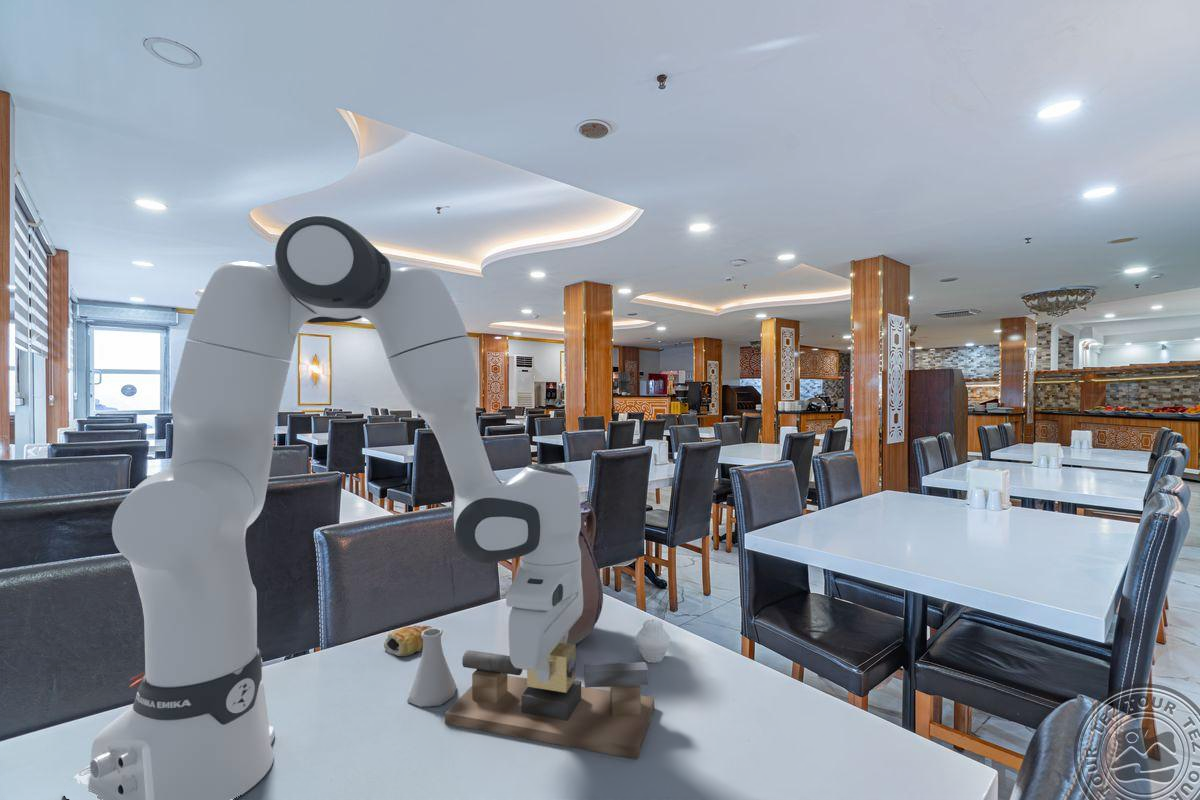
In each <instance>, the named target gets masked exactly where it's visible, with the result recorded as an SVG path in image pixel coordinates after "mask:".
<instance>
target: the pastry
mask: <svg viewBox="0 0 1200 800" xmlns="http://www.w3.org/2000/svg"><path fill="white" fill-rule="evenodd" d="M428 628H433V627H432V626H430V625H422V626H420V625H414V626H403V627H401V628H400V629H395V630H393V631H392V633H389V634H388V635H387V637H386V639H385V640H384V643H383V647H384V650H385V651H386V652H387V653H388V654H391V655H394V656H395V655H396V656H399V657H409V656H412V655H413V654H415V653H416V652H422V651H423V638H421V634H422V632H423V631H424V630H426V629H428Z"/></svg>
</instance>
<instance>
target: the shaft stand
mask: <svg viewBox="0 0 1200 800" xmlns="http://www.w3.org/2000/svg"><path fill="white" fill-rule="evenodd" d="M646 662H647V661H640V662H637V661H636V662H617V663H615V662H613V663H588V664H586V663H585V664H584V665H583V669H584V671H583V679H584V680H583V681H584V682H583V683H584V686H582V681H581V680H577V679H575V680H574V682H573V683H572V685H571V687H570V688H569V690H568V691H567V693H565V692H559V691H552V690H546V689H540V688H533V687H527V677H522V676H521V675H522V673H523V670H524V669H518V668H515V667H514V666H513V664H512V663H511V660H510V655H505V654H499V653H490V652H483V651H477V650H472V649H471V650H470V649H468V650H465V652H464V654H463V656H462V662H461V663H462V667H463V668H467V669H474V671H473V673H472V675H471V679H472V680H471V681H472V682H471V683H472V684H471V686H470V687H469V688H468V689H467V690H466V691H465V692H464V693H463V695H461V696H460V697H459V698H458V699H457V700H456V702H454V703H453V704H452V705H451V706H450V708H448V709H447V710H446V711H445V712H444V724H445V725H451V726H455V727H462V728H467V729H472V730H478V731H483V732H489V733H493V734H500V735H505V736H510V737H511V736H512V737H517V738H522V739H526V740H531V741H536V742H537V741H538V742H542V743H548V744H553V745H559V746H565V747H569V748H575V749H580V750H586V751H592V752H597V753H602V754H607V755H612V756H618V757H625V758H629V759H635V760H637V759H638V758H639V754H640V751H641V749H642V746H643V743H644V741H645V737H646V734H647V731H648V729H649V725H650V722H651V719H652V716H653V713H654V710H655V697H651V696H647V695H646V696H645V695H642V692H641V689H642V688H641V686H648V685H649V669H648V665H647V663H646ZM513 675H514V676H513ZM604 687H606V688H607V687H608V688H610V689H609V690H607V689H598V688H604Z"/></svg>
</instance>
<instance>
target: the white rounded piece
mask: <svg viewBox="0 0 1200 800" xmlns="http://www.w3.org/2000/svg"><path fill="white" fill-rule="evenodd" d="M642 624H643V625H642V628H641V629H640V630H638V632H637V633H636V636H635V642H636V644H637V648H638V650H639V652H640V653H641V655H642V657H643V659H644V660H645V661H646V660H647V661H649V662H648V663H651V662H657V663H659V661H660V662H662V661H663V660H664V658H665V655H666V653H667V652H668V650H669V647H670V644H671V636H670V634H669V633H668V632H667V631H666V630H665V628H664V626H663V623H662V622H661V621H660V620H659V619H656V618H652V619H651V618H650V619H647V620H645V621H644V623H642ZM647 661H646V662H647Z"/></svg>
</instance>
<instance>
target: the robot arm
mask: <svg viewBox="0 0 1200 800" xmlns="http://www.w3.org/2000/svg"><path fill="white" fill-rule="evenodd" d="M274 262H275V264H271V265H269V264H266V265H265V264H261V263H258V262H250V261H235V262H229V263H226V264H223V265H221V266H220V267H218V268H217V269H215V271H214V272H213V273H212V274H211V277H210V279H209V280H208V283H207V284H206V286H205V289H204V290H203V293H202V294H201V297H200V299H199V301H198V303H197V306H196V309H195V311H194V314H193V316H192V319H191V322H190V325H189V329H188V332H187V336H186V340H185V342H184V347H183V351H182V354H181V357H180V363H179V366H178V371H177V374H176V378H175V381H174V385H173V391H172V394H171V396H170V397H171V399H170V403H169V405H170V406H169V407H170V411H171V412H170V413H171V414H172V420H173V421H172V424H173V426H172V427H173V430H172V431H173V435H172V454H171V458H170V459H171V460H170V464H169V467H168V468H167V469H165V470H161V471H159V472H156V473H154V474H152V475H150V476H149V477H147V478H145V479H144V480H142V481H141V482H140V483H139V484H138V485H136V486H135V488H133V489H132V491H130V492H129V493H128V494H127V496H126V497H125V498H124V499H123V500H122V502H121V503H120V504H119V506H118V508H117V509H116V511H115V513H114V516H113V519H112V525H111V535H112V539H113V542H114V544H115V546H116V548H117V550H118V551H119V552H120V554H121V555H122V556H123V557H124V558H125V559H127V561H128V562H130V566H131V570H132V573H133V576H134V580H135V583H136V586H137V591H138V594H139V598H140V601H141V606H142V614H143V621H144V622H143V625H144V664H145V665H144V667H145V669H144V672H142V673H140V674H138V675H135V676H133V677H130V678H129V681H134V680H135V682H133V683H132V684H129V688H131V689H132V688H135V687H136V686H137V687H138V688H137V691H136V695H135V698H134V702H133V704H132V705H131V706H130V707H128V708H127V709H126V710H125V711H124V712H122V713H121V714H120V715H119V716H118V717H116V718H115V719H114V720H112V721H111V722H110V723H109V724H107V725H106V726H104V727H103V729H102V730H101V731H100V732H98V734H97V735H96V736H95V738H94V741H93V743H92V746H91V751H90V752H91V754H90V762H89V763H90V764H88V766H86V767H84V768H83V769H82V770H80V771H79V772H78V773H76V775H74V776H73V777H74V778H76V779H77V781H78V782H77V783H79V784H80V781H81V783H83V784H86V785H87V787H88V789H89V790H88V791H89V792H92V793H94V794H96V795H98V796H97V798H98V799H100V800H102V799H103V800H230V799H233V798H235V797H237V798H239V797H240V795H241V796H242V795H243V794H245V793H247V792H248V791H250V790H251V789H252V788H254V786H256V785H257V784H258V783H259V782H260V781H261V780H263V778H264V777H265V776H266V774H267V773H268V771H269V770H271V767H272V764H273V763H274V751H273V748H272V743H273V741H274V739H275V736H276V733H275V728H274V726H272V725H269V724H270V723H269V717H268V707H267V700H266V694H265V692H266V691H265V686H264V683H263V682H262V678H263V675H262V674H263V672H262V671H263V668H262V667H263V658H262V652H261V649H260V648H259V647H258V613H257V612H258V609H257V608H258V600H257V589H256V587H255V585H254V584H253V580H252V576H251V571H250V567H249V562H248V561H249V560H248V557H247V556H248V555H247V548H246V533H247V530H248V528H249V527H250V526H251V525H252V524H254V522H255V521H256V520H257V518H258V517H259V516H260V515H261V512H262V510H263V508H264V505H265V502H266V495H267V490H268V484H269V478H270V473H271V468H272V467H271V466H272V459H273V452H274V451H273V450H274V443H275V432H276V425H277V424H276V423H277V421H278V416H279V411H280V407H281V403H282V398H283V394H284V389H285V385H286V383H287V377H288V373H289V369H290V366H291V365H290V364H291V361H292V357H293V352H294V349H295V348H294V347H295V344H296V340H297V336H298V335H299V332H300V330H301V328H302V327H303V326H304V324H305V323H310V324H319V323H344V322H353V321H356V320H359V319H362V318H364V319H366V320H368V321H369V322H370V323H371V325H372V326H373V327H374V328H375V330H376V332H377V333H378V336H379V338H380V340H381V343H382V346H383V349H384V351H385V356H386V358H387V361H388V364H389V367H390V369H391V372H392V374H393V376H394V379H395V381H396V383H397V385H398V387H399V388H400V390H401V392H402V395H403V396H404V398H405V399H406V400H407V402H408V404H409V405H410V407H411V408H412V409H413V410H414V411H415V412H416V413H417V414H418V415H419V416H420V417H421V419H423V421H425V423H426V424H427V425H428V426H429V428H430V430H431V431H432V433H433V434H434V436H435V438H436V440H437V442H438V444H439V448H440V450H441V451H440V452H441V453H442V457H443V459H444V462H445V466H446V468H447V471H448V472H449V476H450V479H451V483H452V487H453V496H452V497H453V498H452V505H451V519H452V523H453V527H454V529H453V530H454V538H455V542H456V544H457V547H458V549H459V550H460V552H461V553H462V554H463V555H464V556H465V557H466V558H467V559H469V560H471V561H474V562H476V563H479V564H488V565H489V564H494V563H495V564H497V563H499V562H504V561H509V560H512V559H516V558H519V560H520V568H519V569H518V572H517V575H516V574H515V575H516V577H515V576H514V579H513V581H512V583H511V585H509V586H510V587H508V589H507V590H506V595H505V604H506V606H507V607H511V609H510V610H509V611H510V613H509V615H508V648H509V651H508V652H509V656H510V660H511V663H512V664H513V666H514V667H515V668H518V669H523V670H525V671H527V670H532V671H535V670H536V676H537V681H538V682H543V683H547V682H548V681H549V679H550V678H551V676H552V666H549V660H548V659H549V658H550V653H551V652H552V651H553V650H554V648H555V647H556V646H557V645H558V643H565V644H566V643H567V639H568V631H569V630H570V629H571V627H572V626H573V625H574V624H575V622H576V621H577V620H578V619H579V618H580V616H581V615H582V611H583V587H582V578H581V550H580V547H579V542H578V537H579V532H580V528H581V507H580V502H581V494H580V489H579V484H578V480H577V478H576V477H575V476H574V474H573V473H572V472H570V471H568V470H567V469H565V468H563V467H558V466H553V465H550V464H542V463H541V464H539V463H538V464H537V463H536V464H535V463H534V464H528V465H527V466H526V467H524V469H523V470H522V471H519V473H517V474H516V475H514V476H512V477H511V478H509V479H507V480H505V481H504V482H502V481H501V480H500V479H499V478H498V477H497V475H496V474H495V472H494V470H493V468H492V466H491V463H490V460H489V457H488V454H487V451H486V448H485V445H484V442H483V438H482V437H481V436H482V435H481V432H480V428H479V425H478V421H477V413H476V412H477V410H476V409H477V407H476V406H477V397H478V391H479V389H478V388H479V380H478V373H477V372H478V371H477V366H476V365H477V364H476V360H475V356H474V351H473V348H472V343H471V341H470V338H469V334H468V332H467V329H466V326H465V323H464V321H463V319H462V317H461V314H460V312H459V310H458V308H457V305H456V304H455V303H456V302H455V301H454V300H453V297H452V296H451V293H450V292H449V289H448V288H447V286H446V284H445V282H444V281H443V279H442V278H441V276H439V274H437V273H436V272H435V271H433V270H431V269H428V268H427V267H420V266H406V267H405V266H404V267H399V268H391V262H390V260H389V259H388V258H387V256H385V255H384V254H383V253H382V252H381V251H380V250H379V249H378V248H376V247H375V246H374V244H373V243H371V242H370V241H369V240H368V239H367V238H366V237H365V236H364V235H363V234H362V233H360V232H359V231H358V230H356V229H355V228H354V227H352V226H351V225H350V224H348V223H346V222H344V221H342V220H340V219H337V218H334V217H330V216H326V215H310V216H306V217H303V218H299V219H298V220H295V221H294V222H292V223H291V224H290V225H288V226H287V227H286V228H285V229H284V230H283V232H282V233H281V234H280V236H279V238H278V240H277V243H276V245H275V252H274ZM136 679H137V680H136ZM86 771H91V772H90V773H89V774H86V775H84V774H83V773H84V772H86ZM80 773H82V775H84V776H79V774H80ZM79 780H80V781H79ZM84 786H85V785H84ZM90 790H91V791H90ZM238 796H239V797H238Z"/></svg>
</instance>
